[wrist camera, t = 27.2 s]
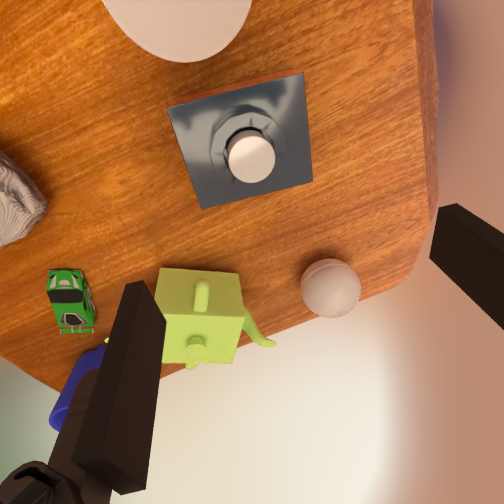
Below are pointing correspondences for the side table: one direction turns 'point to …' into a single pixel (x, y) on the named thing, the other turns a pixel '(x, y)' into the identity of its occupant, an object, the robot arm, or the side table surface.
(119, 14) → the doodled pink cylinder
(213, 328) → the teapot
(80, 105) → the side table surface
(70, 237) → the side table surface
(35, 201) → the decorative stone
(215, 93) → the push button box
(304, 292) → the bath bomb
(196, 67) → the side table surface
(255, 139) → the button
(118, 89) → the side table surface
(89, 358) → the mug
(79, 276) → the toy car
